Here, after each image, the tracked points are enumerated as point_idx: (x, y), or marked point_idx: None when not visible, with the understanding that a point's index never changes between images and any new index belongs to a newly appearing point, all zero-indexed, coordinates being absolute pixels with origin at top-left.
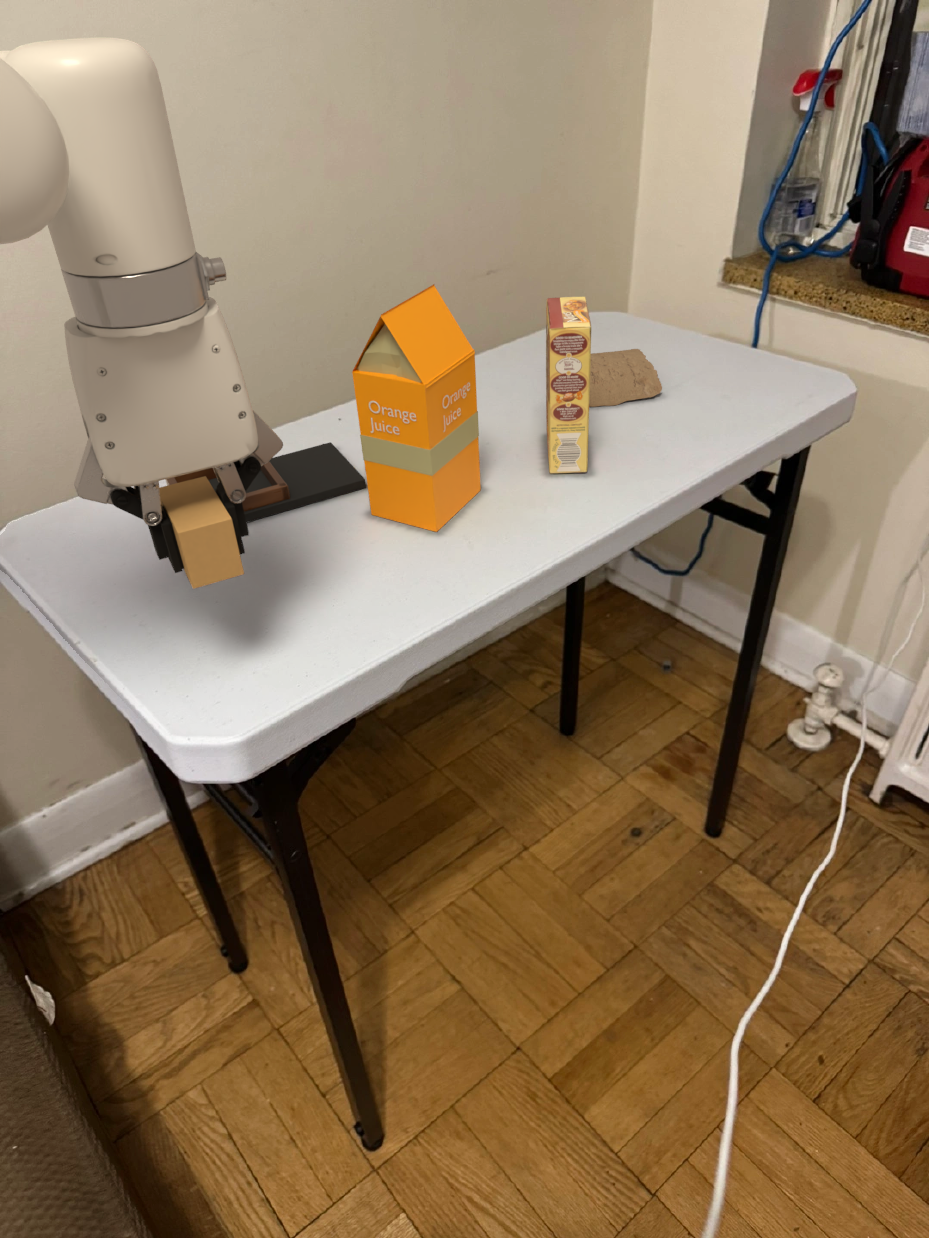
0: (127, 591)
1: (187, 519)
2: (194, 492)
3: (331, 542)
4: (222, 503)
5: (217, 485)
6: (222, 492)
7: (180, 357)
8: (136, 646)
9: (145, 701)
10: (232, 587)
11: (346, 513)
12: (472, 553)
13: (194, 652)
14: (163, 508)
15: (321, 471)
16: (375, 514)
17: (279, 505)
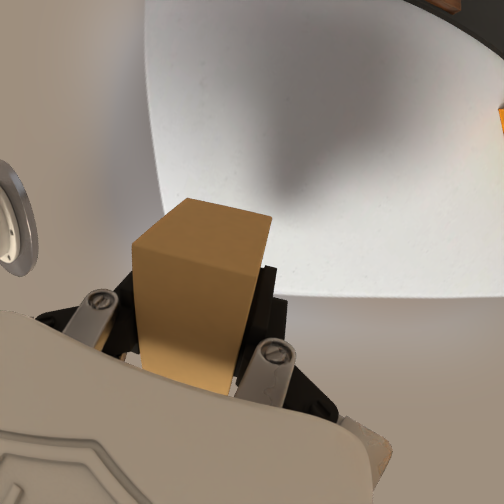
0: (214, 18)
1: (163, 375)
2: (201, 321)
3: (448, 107)
4: (238, 364)
5: (245, 359)
6: (239, 382)
7: None
8: (184, 116)
9: (166, 200)
10: (316, 86)
11: (484, 81)
12: (499, 243)
13: (226, 165)
14: (129, 344)
15: (496, 13)
16: (500, 115)
17: (437, 11)
